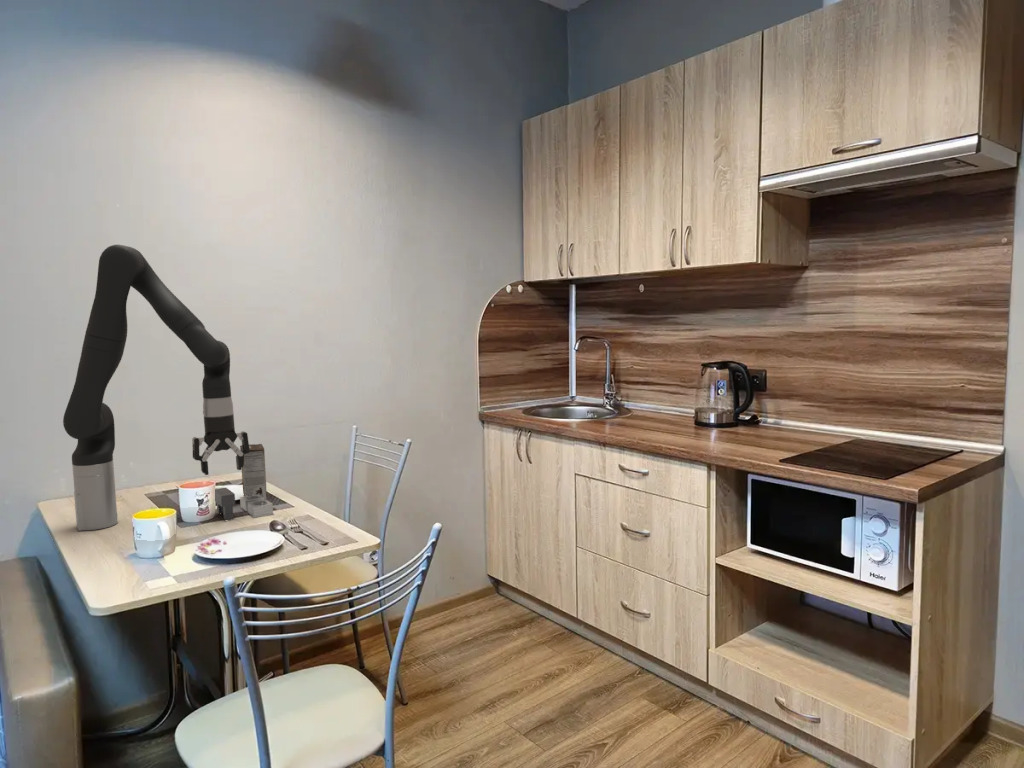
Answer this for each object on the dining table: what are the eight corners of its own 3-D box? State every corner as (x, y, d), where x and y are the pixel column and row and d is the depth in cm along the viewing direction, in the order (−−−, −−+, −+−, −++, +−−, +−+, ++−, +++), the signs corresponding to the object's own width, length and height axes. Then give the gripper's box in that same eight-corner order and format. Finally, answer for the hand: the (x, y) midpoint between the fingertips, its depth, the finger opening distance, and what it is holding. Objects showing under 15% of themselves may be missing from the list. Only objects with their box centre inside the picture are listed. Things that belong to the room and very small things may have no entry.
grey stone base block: (253, 517, 185) (253, 504, 184) (240, 507, 195) (239, 495, 195) (273, 514, 188) (272, 501, 187) (259, 504, 198) (258, 492, 198)
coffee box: (242, 496, 207) (239, 445, 206) (264, 494, 210) (262, 443, 208) (244, 503, 199) (241, 450, 197) (267, 501, 202) (264, 448, 200)
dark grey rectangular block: (222, 521, 182) (221, 496, 181) (214, 513, 189) (212, 489, 188) (236, 518, 184) (234, 493, 183) (227, 511, 191) (225, 487, 190)
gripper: (193, 418, 176) (198, 478, 178) (249, 412, 185) (253, 470, 186) (187, 415, 182) (192, 474, 184) (241, 409, 191) (246, 465, 192)
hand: (223, 471), depth 185 cm, fingers open, 8 cm apart
